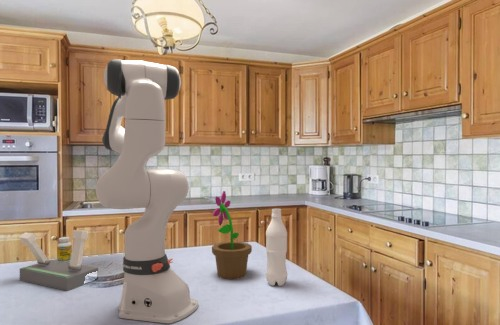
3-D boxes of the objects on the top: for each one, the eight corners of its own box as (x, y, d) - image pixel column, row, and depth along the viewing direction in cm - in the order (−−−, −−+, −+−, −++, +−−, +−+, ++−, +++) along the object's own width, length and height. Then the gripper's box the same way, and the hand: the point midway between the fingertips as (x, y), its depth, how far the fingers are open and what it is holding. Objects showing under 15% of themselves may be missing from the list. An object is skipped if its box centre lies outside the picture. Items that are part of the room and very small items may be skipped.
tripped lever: (82, 270, 120) (88, 231, 123) (75, 271, 118) (82, 230, 120) (73, 269, 122) (79, 230, 125) (66, 269, 120) (73, 229, 122)
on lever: (51, 261, 128) (33, 233, 121) (45, 267, 126) (27, 238, 119) (43, 260, 129) (25, 232, 123) (37, 265, 127) (18, 237, 121)
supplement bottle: (71, 258, 150) (70, 235, 150) (72, 261, 145) (72, 238, 145) (56, 260, 147) (56, 237, 147) (57, 263, 142) (57, 239, 142)
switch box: (98, 279, 124) (97, 266, 124) (67, 291, 113) (67, 277, 113) (51, 270, 134) (51, 258, 134) (19, 280, 123) (19, 267, 123)
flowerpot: (224, 266, 138) (224, 189, 138) (258, 271, 132) (257, 190, 132) (204, 277, 125) (203, 192, 125) (240, 283, 119) (240, 194, 119)
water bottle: (291, 283, 120) (291, 209, 119) (278, 289, 114) (278, 211, 114) (275, 278, 125) (274, 206, 124) (261, 283, 119) (261, 209, 119)
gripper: (107, 171, 147) (89, 200, 139) (136, 165, 135) (118, 196, 127) (118, 180, 151) (101, 208, 143) (148, 175, 138) (131, 205, 131)
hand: (109, 202), depth 135 cm, fingers closed
